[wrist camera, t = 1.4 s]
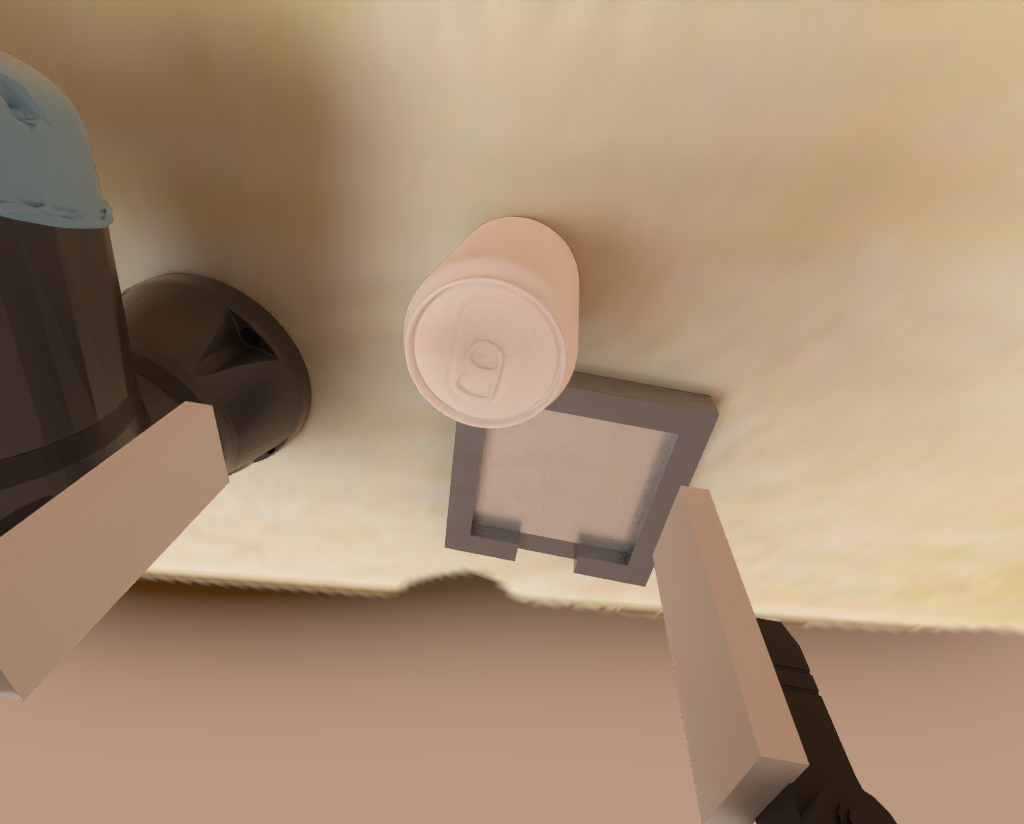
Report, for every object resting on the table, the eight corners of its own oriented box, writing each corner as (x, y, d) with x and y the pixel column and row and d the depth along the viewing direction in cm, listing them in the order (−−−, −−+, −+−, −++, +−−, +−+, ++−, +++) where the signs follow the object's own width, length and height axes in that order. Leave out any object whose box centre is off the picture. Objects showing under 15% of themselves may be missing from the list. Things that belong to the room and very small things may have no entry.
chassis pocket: (451, 526, 43) (444, 547, 41) (469, 352, 34) (462, 367, 32) (641, 563, 43) (645, 586, 41) (710, 396, 34) (718, 414, 32)
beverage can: (601, 246, 30) (611, 312, 20) (549, 357, 34) (535, 460, 24) (476, 192, 29) (419, 232, 19) (439, 313, 33) (375, 399, 23)
